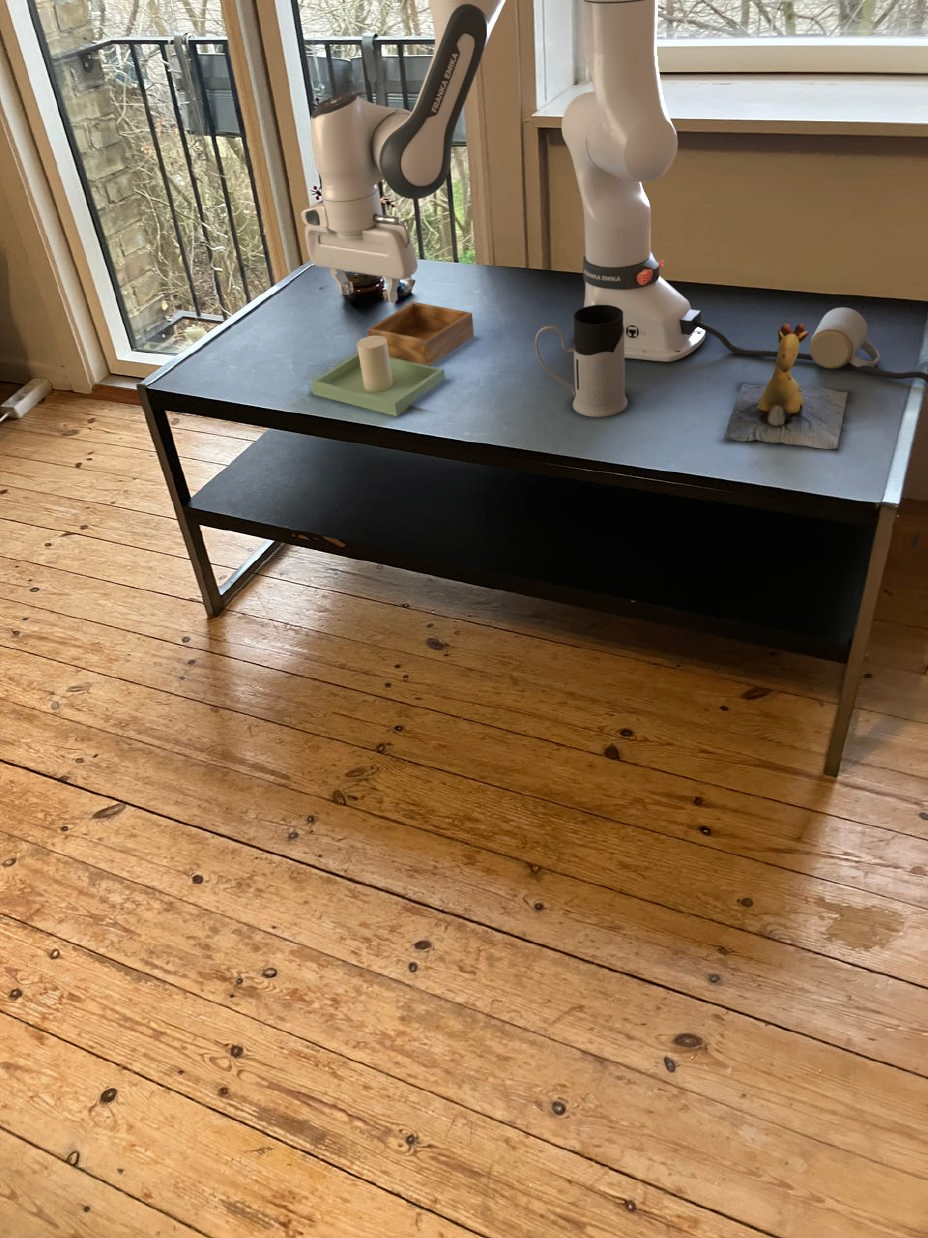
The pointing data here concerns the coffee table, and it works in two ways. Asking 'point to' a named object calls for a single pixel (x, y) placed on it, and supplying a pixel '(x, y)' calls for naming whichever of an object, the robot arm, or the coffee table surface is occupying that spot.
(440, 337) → the wooden box
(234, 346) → the coffee table surface
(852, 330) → the ceramic mug
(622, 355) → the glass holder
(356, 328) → the coffee table surface
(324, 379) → the tray
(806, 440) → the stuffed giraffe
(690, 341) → the robot arm
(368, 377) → the candle
